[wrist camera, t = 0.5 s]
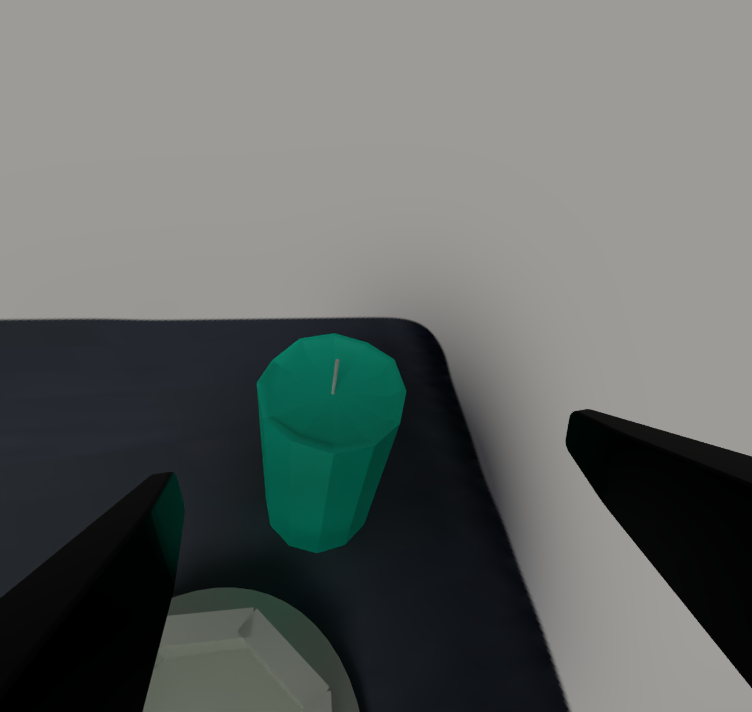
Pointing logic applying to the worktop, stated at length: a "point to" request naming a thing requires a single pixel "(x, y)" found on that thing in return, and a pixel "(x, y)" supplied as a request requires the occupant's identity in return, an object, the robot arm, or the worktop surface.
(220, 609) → the candle dish
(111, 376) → the worktop surface
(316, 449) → the candle
